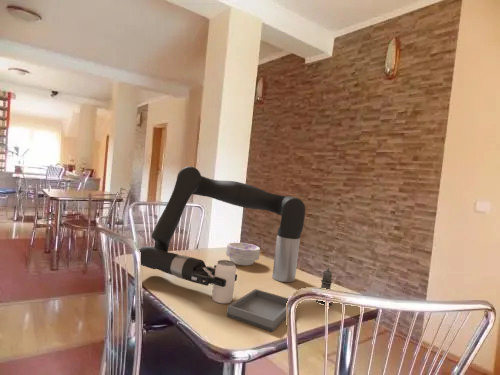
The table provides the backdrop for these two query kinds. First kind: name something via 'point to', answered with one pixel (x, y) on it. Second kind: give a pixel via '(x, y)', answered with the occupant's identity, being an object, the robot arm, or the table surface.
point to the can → (226, 272)
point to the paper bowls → (242, 253)
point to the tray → (259, 309)
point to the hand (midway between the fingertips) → (230, 280)
